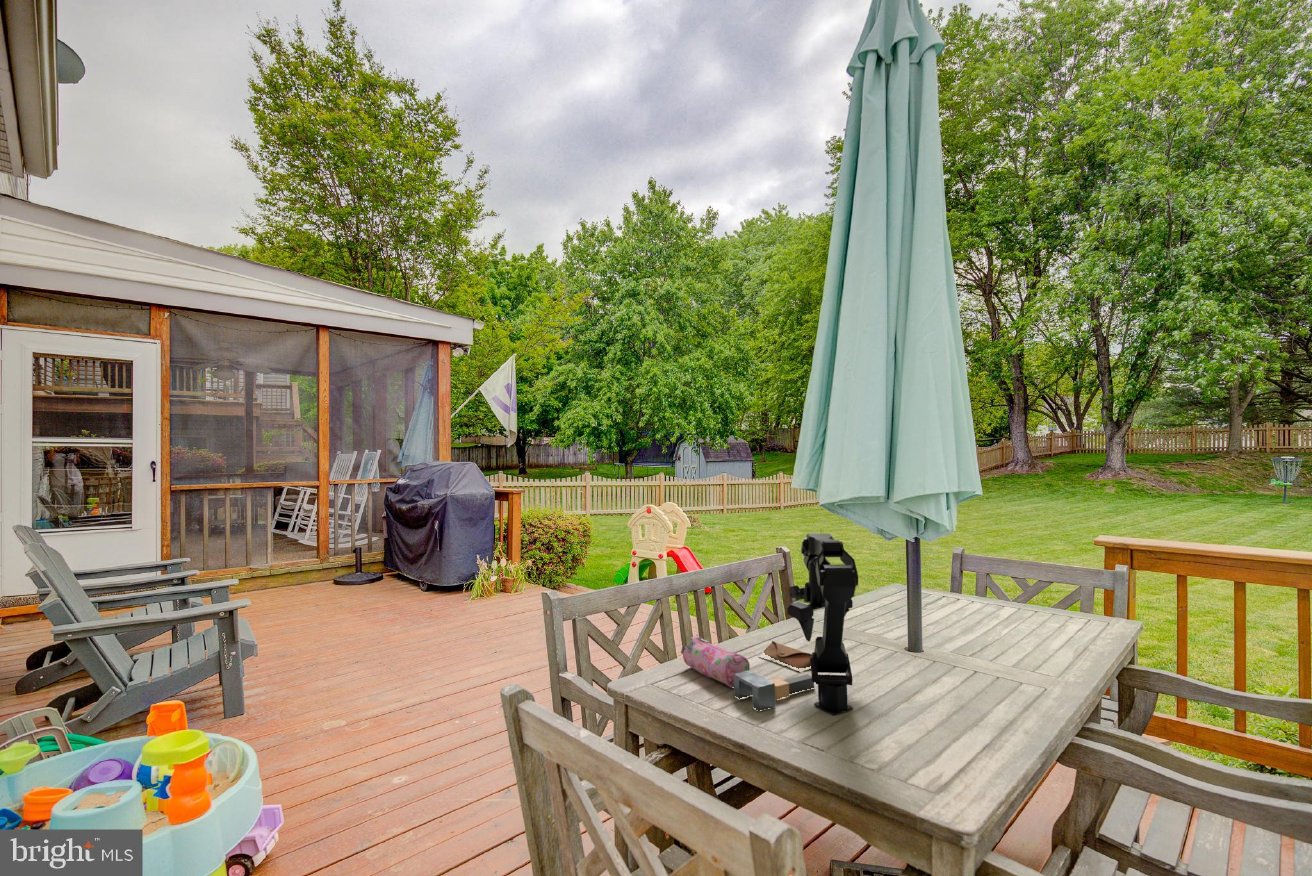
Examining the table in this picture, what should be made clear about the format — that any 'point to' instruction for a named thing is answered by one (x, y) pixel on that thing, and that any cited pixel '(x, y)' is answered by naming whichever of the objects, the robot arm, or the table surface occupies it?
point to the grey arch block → (755, 689)
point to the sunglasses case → (788, 655)
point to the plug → (792, 685)
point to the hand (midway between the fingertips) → (821, 637)
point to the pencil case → (714, 660)
